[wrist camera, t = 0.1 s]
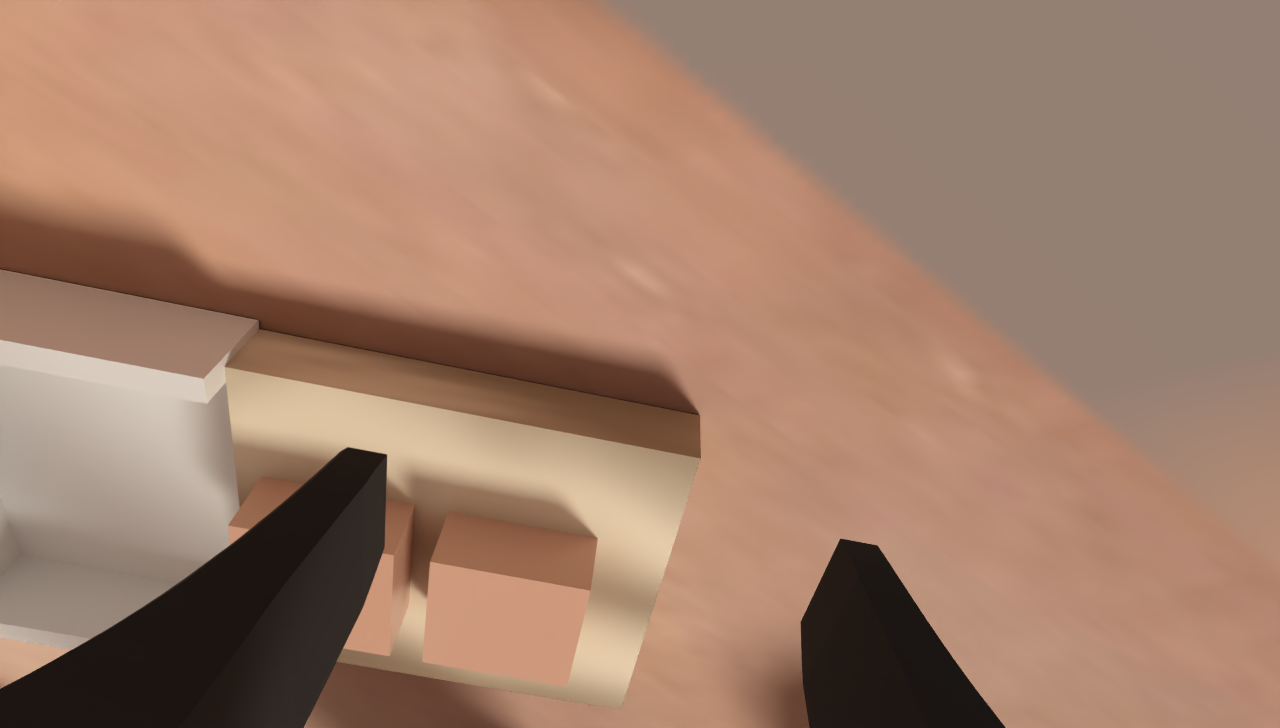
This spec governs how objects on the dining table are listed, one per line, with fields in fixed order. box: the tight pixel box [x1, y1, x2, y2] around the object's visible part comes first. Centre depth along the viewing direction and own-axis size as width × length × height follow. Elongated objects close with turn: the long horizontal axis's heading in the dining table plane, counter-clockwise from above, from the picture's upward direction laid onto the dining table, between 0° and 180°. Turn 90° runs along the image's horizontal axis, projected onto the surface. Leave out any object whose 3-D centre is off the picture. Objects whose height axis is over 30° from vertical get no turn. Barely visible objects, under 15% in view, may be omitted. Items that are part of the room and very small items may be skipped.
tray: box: [0, 269, 259, 650], centre depth 24 cm, size 13×10×3 cm
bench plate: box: [225, 329, 701, 710], centre depth 25 cm, size 12×13×2 cm
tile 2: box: [228, 477, 415, 656], centre depth 23 cm, size 4×4×2 cm
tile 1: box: [422, 511, 598, 687], centre depth 24 cm, size 4×4×2 cm
